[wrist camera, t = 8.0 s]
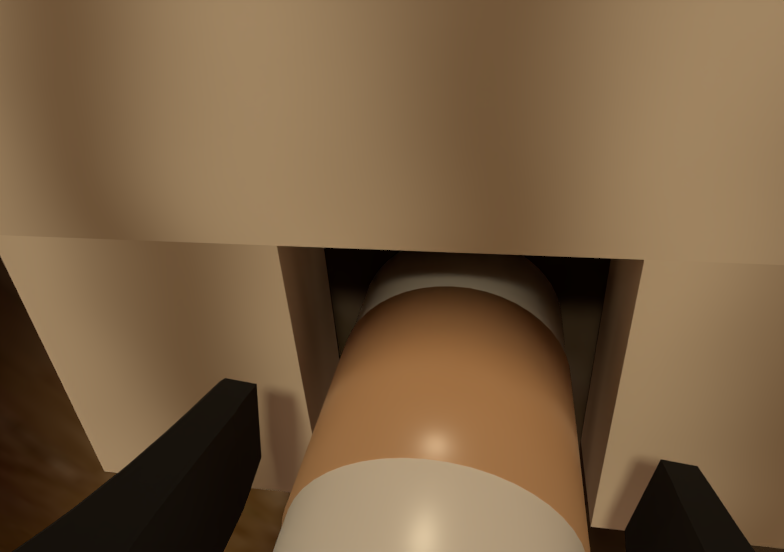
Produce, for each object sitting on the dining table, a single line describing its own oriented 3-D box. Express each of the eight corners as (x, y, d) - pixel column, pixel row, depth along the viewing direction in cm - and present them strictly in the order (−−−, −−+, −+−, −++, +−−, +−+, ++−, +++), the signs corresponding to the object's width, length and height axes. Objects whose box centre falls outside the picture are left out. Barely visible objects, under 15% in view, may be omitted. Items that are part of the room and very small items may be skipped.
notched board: (152, 401, 18) (104, 471, 15) (-27, -69, 11) (-151, -57, 9) (835, 463, 14) (889, 560, 12) (1148, -144, 8) (1372, -154, 6)
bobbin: (358, 377, 16) (244, 739, 9) (367, 219, 13) (214, 568, 6) (540, 409, 15) (559, 816, 9) (587, 251, 12) (667, 665, 6)
